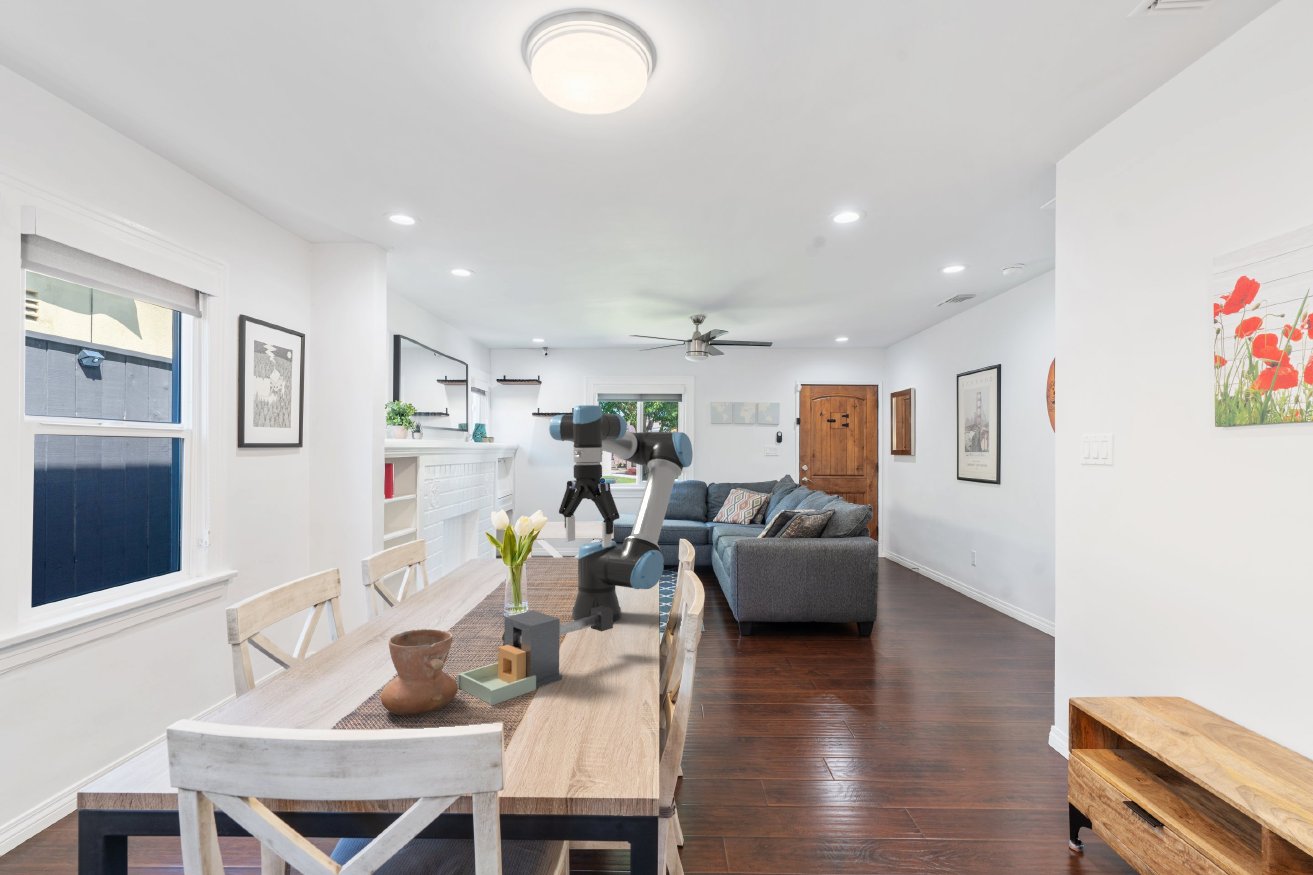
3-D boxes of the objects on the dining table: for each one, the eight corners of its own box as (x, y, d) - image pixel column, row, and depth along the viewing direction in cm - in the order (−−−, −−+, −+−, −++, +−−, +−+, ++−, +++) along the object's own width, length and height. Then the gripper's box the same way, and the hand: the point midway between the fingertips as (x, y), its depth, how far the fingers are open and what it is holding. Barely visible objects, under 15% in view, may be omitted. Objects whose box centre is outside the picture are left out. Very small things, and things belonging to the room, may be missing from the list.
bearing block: (529, 666, 147) (530, 609, 147) (561, 679, 139) (562, 619, 139) (501, 675, 141) (502, 616, 141) (533, 689, 133) (533, 626, 133)
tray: (501, 674, 142) (501, 661, 142) (535, 689, 133) (536, 675, 133) (457, 687, 133) (457, 674, 133) (491, 705, 124) (491, 690, 124)
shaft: (602, 624, 159) (602, 605, 159) (612, 627, 156) (613, 608, 157) (515, 649, 139) (515, 627, 139) (525, 653, 136) (526, 631, 136)
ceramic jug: (472, 709, 122) (474, 638, 123) (399, 731, 112) (401, 653, 113) (434, 685, 135) (435, 621, 136) (365, 703, 125) (367, 633, 126)
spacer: (507, 675, 139) (507, 644, 139) (525, 683, 135) (526, 651, 135) (497, 678, 137) (498, 647, 137) (516, 686, 133) (516, 654, 133)
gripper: (545, 462, 167) (546, 540, 167) (612, 465, 151) (613, 551, 151) (565, 461, 173) (566, 536, 173) (632, 464, 157) (633, 546, 157)
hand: (588, 543), depth 162 cm, fingers open, 13 cm apart
